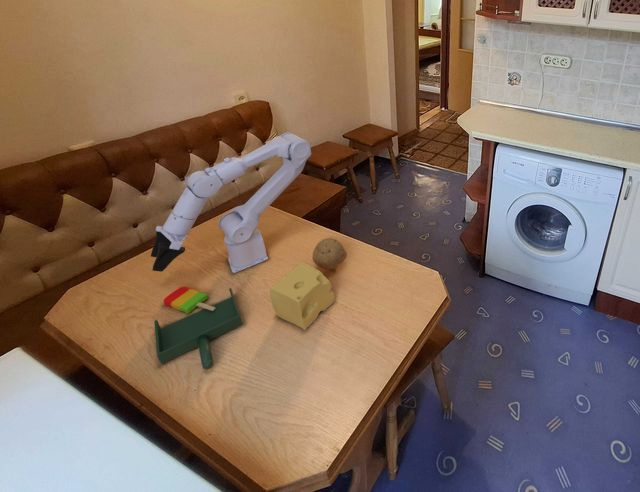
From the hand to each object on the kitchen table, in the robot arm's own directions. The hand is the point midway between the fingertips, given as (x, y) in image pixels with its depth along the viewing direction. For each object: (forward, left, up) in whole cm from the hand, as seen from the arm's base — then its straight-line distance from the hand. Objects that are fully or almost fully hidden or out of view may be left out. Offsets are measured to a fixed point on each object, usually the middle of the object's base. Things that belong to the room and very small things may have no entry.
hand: (156, 263), depth 92 cm
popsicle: (-4, +7, -12) cm, 14 cm away
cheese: (-26, +27, -12) cm, 40 cm away
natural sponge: (-37, +16, -12) cm, 43 cm away
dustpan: (-5, +21, -12) cm, 25 cm away
